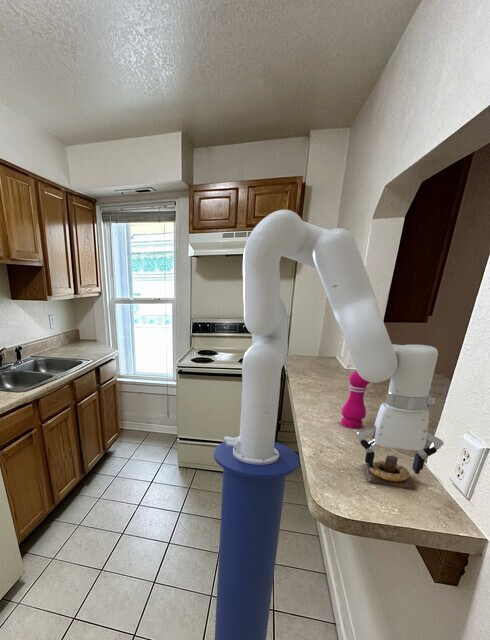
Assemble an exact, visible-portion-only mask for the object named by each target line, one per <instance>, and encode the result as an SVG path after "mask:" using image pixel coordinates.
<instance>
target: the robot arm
mask: <svg viewBox="0 0 490 640" xmlns="http://www.w3.org/2000/svg"><path fill="white" fill-rule="evenodd" d="M242 256H243V258H242V280H243V288H242V289H243V323H244V325H245V328H246V329H247V331H248V332H249V333H250V334H251V343H252V344H251V346H250V347H249V348H248V349H247V351H245V353H244V356H243V358H242V364H241V377H242V379H241V380H242V388H241V389H242V391H241V406H240V407H241V408H240V421H239V423H240V424H239V436H235V437H231V436H224V437H223V442H224V443H226V446H232V447H234V448H233V455H234V456H235V457H236V458H237V459H238V460H240V461H242V462H245V463H249V464H254V465H267V464H271V463H274V462H276V461H277V460H278V458H279V452H278V451H277V450H276V449H275V448H274V442H276V431H277V422H278V413H279V402H280V393H281V377H282V376H281V375H282V369H283V367H284V365H285V363H286V361H287V358H288V355H289V354H288V353H289V351H288V349H289V346H288V344H289V339H288V338H289V335H288V327H289V326H288V325H289V324H288V309H287V306H286V304H285V302H284V301H283V300H282V299H281V269H280V263H281V258H282V257H283V258H287V259H289V260H292V261H295V262H298V263H300V264H302V265H306V266H309V267H312V268H315V269H316V271H317V273H318V276H319V278H320V280H321V283H322V286H323V288H324V291H325V294H326V296H327V300H328V302H329V305H330V308H331V310H332V314H333V316H334V318H335V320H336V322H337V324H338V325H339V327H340V331H341V332H342V335H343V337H344V340H345V343H346V345H347V348H348V350H349V353H350V356H351V359H352V361H353V364H354V366H355V370H356V371H357V372H358V374H359V375H360V377H362V378H363V379H364V380H366V381H369V382H370V383H374V384H375V383H383V382H385V381H387V380H389V379H390V380H389V386H388V391H387V396H386V401H385V402H382V403H381V405H380V407H379V409H378V412H377V415H376V417H375V421H374V424H373V426H371V427H368V428H364V429H362V430H358V431H357V432H356V436H357V438H358V441H359V443H360V445H361V446H362V447H363V448H364V449H365V456H364V464H365V463H367V464H368V468H372V465H373V462H374V459H375V451H376V450H377V449H379V448H387V449H397V450H405V451H416V454H414V458H413V463H412V466H411V469H412V470H413V472H414V474H416V475H420V472H421V471H422V470H423V468H424V465H425V460H427V459H429V457H430V456H432V455H434V454H435V453H437V452H438V450H440V449H441V448H442V447H443V445H445V443H444V441H443V439H441V438H439V437H437V436H435V435H433V434H432V433H430V432H429V423H430V412H429V407H428V408H427V405H428V404H429V405H430V404H432V405H435V403H436V398H435V397H432V396H430V391H431V387H432V382H433V378H434V374H435V369H436V365H437V361H438V357H439V351H438V349H437V348H436V347H434V346H431V345H426V344H394V343H392V341H391V339H390V336H389V333H388V329H387V327H386V324H385V322H384V319H383V316H382V314H381V311H380V308H379V303H378V300H377V299H378V298H377V296H376V293H375V291H374V288H373V285H372V283H371V280H370V277H369V276H368V272H367V269H366V266H365V264H364V261H363V259H362V258H363V257H362V256H361V252H360V249H359V247H358V244H357V241H356V239H355V237H354V235H353V234H352V233H351V232H350V231H349V230H347V229H345V228H340V227H339V228H332V229H328V228H325V227H321V226H317V225H315V224H312V223H310V222H307V221H304V220H302V218H301V216H300V215H299V214H297V212H295V211H293V210H291V209H279V210H276V211H273V212H271V213H270V214H268V215H267V216H265V217H263V218H262V219H261V220H260V221H259V222H258V223H257V224H256V225H255V227H254V228H253V229H252V231H250V234H249V236H248V238H247V240H246V243H245V245H244V249H243V255H242ZM370 435H371V437H372V440H370V441H367V439H366V438H365V437H367V436H370ZM427 441H429V442H431V443H432V444H431V445H429V446H427V447H426V443H427Z"/></svg>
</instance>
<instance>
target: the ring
mask: <svg viewBox="0 0 490 640" xmlns="http://www.w3.org/2000/svg"><path fill="white" fill-rule="evenodd" d="M384 464H385V460H377V461H376V460H375V461H373V465H372V468H370V471H371V473H372V474H374V475H375V476H377V477H379V478H381V479H384V480H388V481H394V482H399V481H405V480H406V479H408V478H409V477H410V476H411V475H410V472H409V470H408V469H407V468H406V467H404V466H403V465H401V464H398V463H397V465H396V469H395V471H396V472H398V473H399V474H392V473H387V472H384V471H381V470H380V469H379V468H384Z"/></svg>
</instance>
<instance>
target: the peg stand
mask: <svg viewBox="0 0 490 640" xmlns="http://www.w3.org/2000/svg"><path fill="white" fill-rule="evenodd" d="M398 459H399V458H398V457H397V456H395V455H386V456H385V460H384V461H385V464H384V468H379V469H380V470H381V471H384V472H387V473H392V474H399V473H398V472H396V471H395V469H396V465H397V464H398ZM364 468H365V473H366V477H367V480H368V483H369V484H376V485H381V486H388V487H393V488H400V489H406V490H412V491H414V489H415V485H414V483H413V481H412V479H411V478H410V476H409V478H408V479H406V480H405V481H399V482H394V481H388V480H384V479H381V478H379V477H377V476H375V475H374V474H372V473H371V471H370V468H368V464H367V463H365V462H364Z"/></svg>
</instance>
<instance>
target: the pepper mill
mask: <svg viewBox="0 0 490 640" xmlns="http://www.w3.org/2000/svg"><path fill="white" fill-rule="evenodd" d="M348 382H349V383H350V385H349V388H348V390H349V395H348V398H347V400H346V402H345V404H344V405H343V406H342V408H341V412H340V414H341V416H342V418H341V420H340V424H341V426H343V427H345V428H349V429H360V428H362V427H363V419H365V417H366V415H367V410H366V406H365V402H364V395H365V393H366V392H367V389H368V385H370V383H371V382H369V381H366V380H364V379H363V378H362V377H360V375H359V374H358V372H357V370H356V371H353V372H352V373H351V374H350V375H349V378H348Z"/></svg>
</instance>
